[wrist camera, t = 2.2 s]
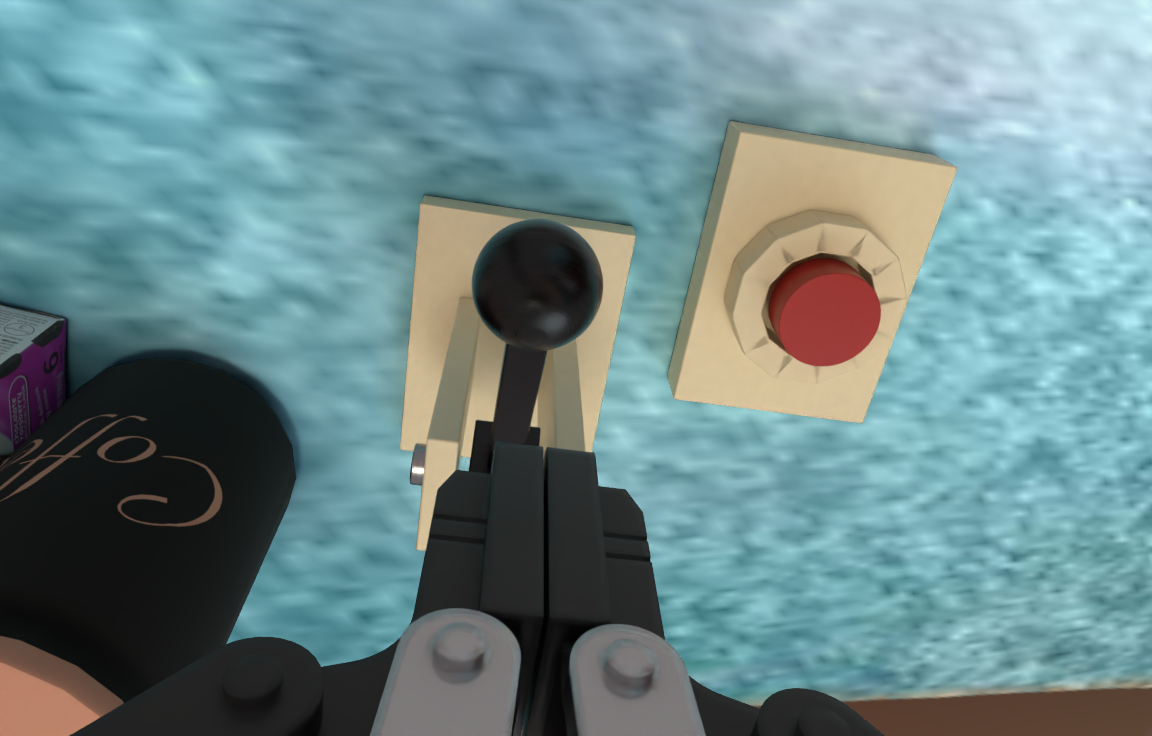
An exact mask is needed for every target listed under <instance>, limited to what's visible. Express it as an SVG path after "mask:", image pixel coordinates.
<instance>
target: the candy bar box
mask: <svg viewBox="0 0 1152 736" xmlns="http://www.w3.org/2000/svg"><path fill="white" fill-rule="evenodd" d="M65 363H66V320H65V319H63V318H60V317H57V316H53V315H49V314H46V313H41V312H36V311H29V310H24V309H18V308H14V307H10V306H6V305H2V304H0V464H1V463H2V462H3V461H5V460H6V459H7V458H8V457H9V456H10V455H11V454H12V453H13V452H14V451H15V450H16V449H17V448H18V447H19V446H20V445H21V444H22V443H23V442H24V441H25V440H26V439H27V438H28V437H29V436H30V435H31V434H32V433H33V432H34V431H35V430H36V429H37V428H38V427H40V426H41V425H42V424H43V423H44V422H45V421H46V420H47V419H48V418H49V417H50V416H51V415H52V414H53V413H54V412H55V411H56V410H57V409H58V408H59V407H60V406H61V405H62V404H63V403H64V402H65V401H66V399H65V383H66V369H65Z"/></svg>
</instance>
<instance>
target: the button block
mask: <svg viewBox="0 0 1152 736" xmlns="http://www.w3.org/2000/svg"><path fill="white" fill-rule="evenodd" d="M956 171H957V167H956V166H954V165H952V164H950V163H949V162H947V161H945V160H943V159H941V158H939V157H938V156H936V155H932V154H926V153H920V152H914V151H908V150H902V149H896V148H890V147H884V146H878V145H872V144H866V143H860V142H854V141H848V140H842V139H836V138H830V137H824V136H818V135H812V134H806V133H800V132H794V131H788V130H782V129H776V128H770V127H764V126H758V125H752V124H746V123H740V122H734V121H730V122H729V124H728V128H727V132H726V136H725V141H724V145H723V149H722V153H721V157H720V161H719V165H718V169H717V174H716V178H715V182H714V186H713V190H712V194H711V198H710V202H709V206H708V211H707V215H706V219H705V223H704V227H703V231H702V235H701V239H700V244H699V248H698V252H697V256H696V260H695V264H694V268H693V272H692V276H691V281H690V285H689V289H688V293H687V297H686V301H685V305H684V309H683V314H682V318H681V322H680V326H679V330H678V334H677V338H676V342H675V347H674V351H673V355H672V359H671V363H670V367H669V371H668V375H667V377H668V381H669V384H670V388H671V391H672V395H673V398H674V399H678V400H686V401H693V402H701V403H709V404H717V405H724V406H732V407H740V408H748V409H755V410H763V411H771V412H779V413H787V414H794V415H802V416H810V417H818V418H825V419H833V420H841V421H849V422H856V423H863V420H864V418H865V415H866V412H867V410H868V407H869V404H870V402H871V399H872V396H873V394H874V391H875V388H876V386H877V383H878V380H879V378H880V375H881V372H882V369H883V367H884V364H885V361H886V359H887V356H888V353H889V351H890V348H891V345H892V343H893V340H894V337H895V335H896V332H897V329H898V327H899V324H900V321H901V319H902V316H903V313H904V311H905V308H906V305H907V303H908V300H909V297H910V295H911V292H912V289H913V286H914V284H915V281H916V278H917V276H918V273H919V270H920V268H921V265H922V262H923V260H924V257H925V254H926V252H927V249H928V246H929V244H930V241H931V238H932V236H933V233H934V230H935V228H936V225H937V222H938V220H939V217H940V214H941V211H942V209H943V206H944V203H945V201H946V198H947V195H948V193H949V190H950V187H951V185H952V182H953V179H954V177H955V174H956ZM817 258H833V259H837V260H840V261H843V262H845V263H847V264H849V265H850V266H852V267H853V268H854V269H855V270H856V271H857V272H858V273H859V274H860V275H861V276H862V277H863V278H864V279H865V280H866V281H867V283H868V284H869V285H870V286H871V287H872V288H873V289H874V291H875V292H876V294H877V296H878V298H879V302H880V306H881V318H880V324H879V327H878V330H877V332H876V334H875V336H874V338H873V339H872V341H871V342H870V343H869V345H868V346H867V347H866V348H865V349H864V350H863V351H862V352H860V353H859V354H858V355H856V356H855V357H853V358H852V359H850V360H848V361H846V362H843V363H840V364H837V365H832V366H822V367H821V366H812V365H808V364H805V363H802V362H800V361H798V360H797V359H795V358H794V357H792V356H791V355H790V354H789V353H788V352H787V350H786V349H785V348H784V346H783V344H782V342H781V341H780V339H779V337H778V336H777V334H776V332H775V331H774V329H773V327H772V325H771V322H770V319H769V311H768V308H769V301H770V297H771V294H772V291H773V289H774V288H775V286H776V284H777V283H778V281H779V280H780V279H781V278H782V276H783V275H784V274H786V273H787V272H788V271H789V270H790V269H792V268H793V267H795V266H797V265H798V264H800V263H803V262H805V261H808V260H811V259H817Z"/></svg>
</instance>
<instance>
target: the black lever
mask: <svg viewBox="0 0 1152 736" xmlns="http://www.w3.org/2000/svg"><path fill="white" fill-rule="evenodd" d="M602 295H603V275H602V270H601V266H600V263H599V261H598V258H597V256H596V254H595V252H594V251H593V249H592V248H591V246H590V245H589V243H588V242H587V241H586V240H585V239H584V238H583V237H582V236H581V235H580V234H579V233H577V232H576V231H575V230H573V229H571V228H570V227H568V226H566V225H564V224H561V223H559V222H556V221H552V220H547V219H528V220H523V221H519V222H516V223H513V224H510V225H508V226H506V227H505V228H503V229H501V230H500V231H498V232H497V233H496V234H495V235H494V236H492V237H491V238H490V239H489V241H488V242H487V243H486V244H485V246H484V247H483V248H482V250H481V252H480V253H479V255H478V258H477V260H476V262H475V265H474V269H473V274H472V296H473V301H474V304H475V307H476V310H477V312H478V314H479V316H480V318H481V320H482V321H483V323H484V324H485V325H486V327H487V328H488V329H489V330H490V331H491V332H492V333H493V334H494V335H495V336H496V337H498V338H499V339H500V340H502V341H504V342H505V347H504V354H503V360H502V367H501V373H500V379H499V386H498V392H497V398H496V405H495V411H494V418H493V422H491V421H483V420H476V422H475V429H474V437H473V444H472V451H471V459H470V466H469V472H478V473H487V474H490V473H491V466H492V459H493V452H494V446H495V441H501V442H509V443H517V444H526V445H534V446H539V443H540V431H541V429H540V428H539V427H532V426H530V425H531V421H532V417H533V412H534V408H535V404H536V399H537V395H538V391H539V386H540V382H541V378H542V373H543V369H544V365H545V360H546V356H547V352H548V350H552V349H556V348H559V347H562V346H564V345H566V344H568V343H570V342H572V341H573V340H575V339H576V338H578V337H579V336H580V335H581V334H582V333H583V332H584V331H585V330H586V329H587V328H588V327H589V326H590V324H591V323H592V321H593V320H594V318H595V316H596V314H597V312H598V310H599V307H600V304H601V301H602Z"/></svg>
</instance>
